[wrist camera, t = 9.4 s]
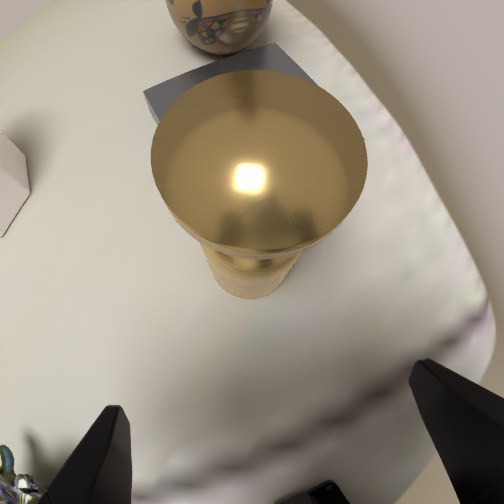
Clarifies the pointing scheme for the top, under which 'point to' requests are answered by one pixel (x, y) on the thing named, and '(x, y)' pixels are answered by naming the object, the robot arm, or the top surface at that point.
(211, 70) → the grey square flat frame
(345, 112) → the brass goblet
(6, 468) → the passion flower
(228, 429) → the top surface
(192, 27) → the ceramic vessel
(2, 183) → the jar
